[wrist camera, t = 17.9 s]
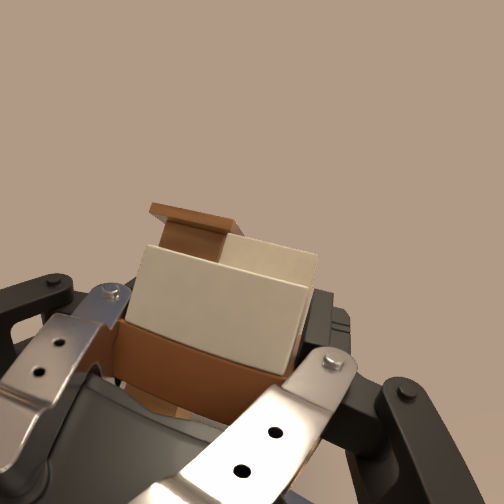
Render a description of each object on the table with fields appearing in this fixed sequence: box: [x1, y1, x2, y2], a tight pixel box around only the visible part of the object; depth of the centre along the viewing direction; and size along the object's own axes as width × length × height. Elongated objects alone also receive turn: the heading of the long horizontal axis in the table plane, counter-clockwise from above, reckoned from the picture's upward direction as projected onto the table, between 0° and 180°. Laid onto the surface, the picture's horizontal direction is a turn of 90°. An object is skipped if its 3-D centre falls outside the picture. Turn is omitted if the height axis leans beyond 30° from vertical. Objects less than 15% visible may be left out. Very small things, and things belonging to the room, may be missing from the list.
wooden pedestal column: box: [124, 203, 245, 420], centre depth 29 cm, size 10×8×32 cm
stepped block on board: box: [112, 233, 319, 426], centre depth 16 cm, size 20×4×6 cm, turn 170°
